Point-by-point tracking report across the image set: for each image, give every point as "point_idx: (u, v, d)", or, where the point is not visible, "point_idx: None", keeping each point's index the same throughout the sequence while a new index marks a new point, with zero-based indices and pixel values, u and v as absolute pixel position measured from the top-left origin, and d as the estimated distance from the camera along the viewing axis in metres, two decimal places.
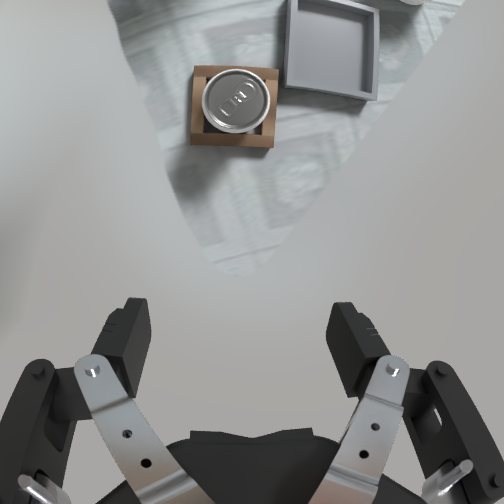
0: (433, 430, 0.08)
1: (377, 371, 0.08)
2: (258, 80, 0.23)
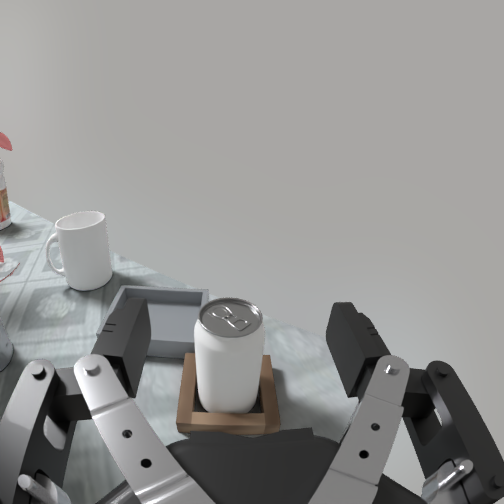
0: (433, 430, 0.08)
1: (377, 371, 0.08)
2: (209, 303, 0.27)
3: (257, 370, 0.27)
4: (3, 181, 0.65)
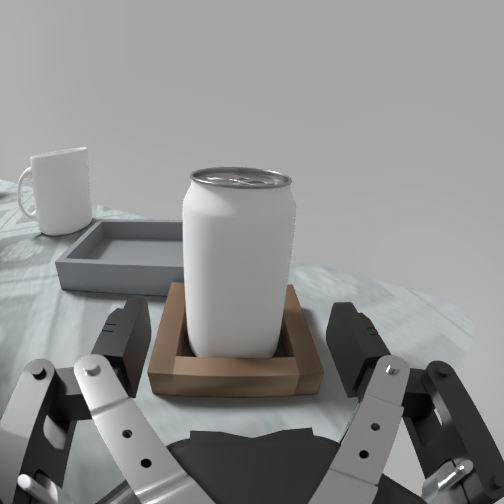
0: (433, 430, 0.08)
1: (377, 371, 0.08)
2: (208, 170, 0.18)
3: (284, 274, 0.17)
4: None
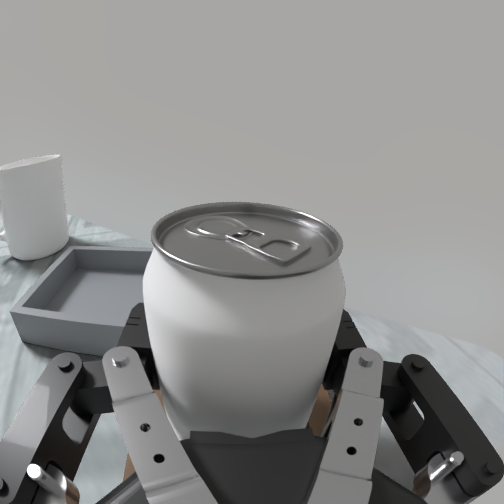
0: (414, 423, 0.08)
1: (349, 362, 0.09)
2: (189, 210, 0.10)
3: (318, 388, 0.10)
4: None
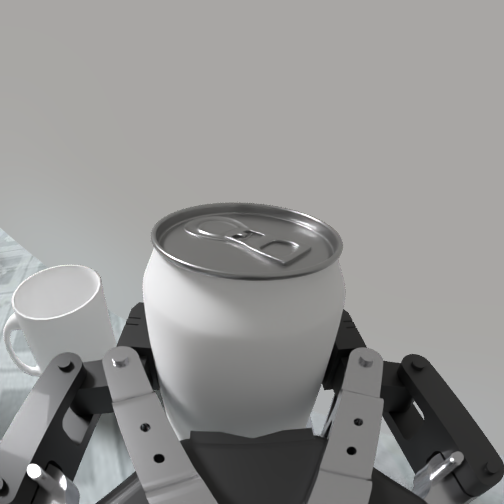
0: (414, 423, 0.08)
1: (349, 362, 0.09)
2: (189, 211, 0.10)
3: (318, 389, 0.10)
4: None
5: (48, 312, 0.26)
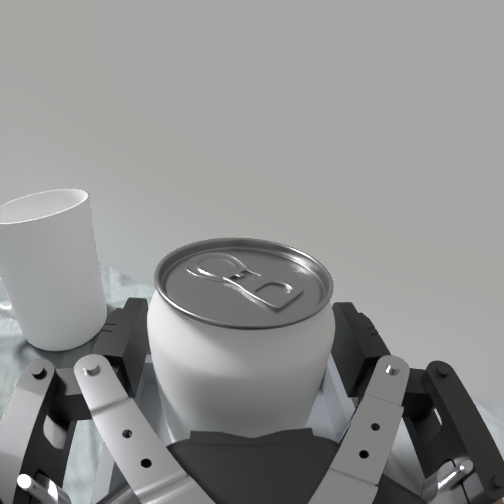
0: (433, 430, 0.08)
1: (377, 371, 0.08)
2: (190, 247, 0.11)
3: (308, 413, 0.10)
4: None
5: None
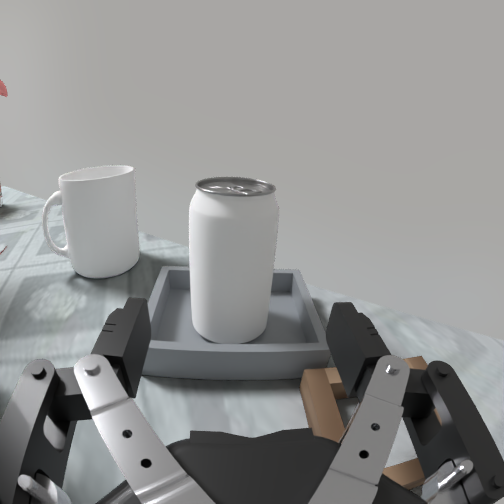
0: (433, 430, 0.08)
1: (377, 371, 0.08)
2: (210, 179, 0.22)
3: (269, 263, 0.21)
4: None
5: None
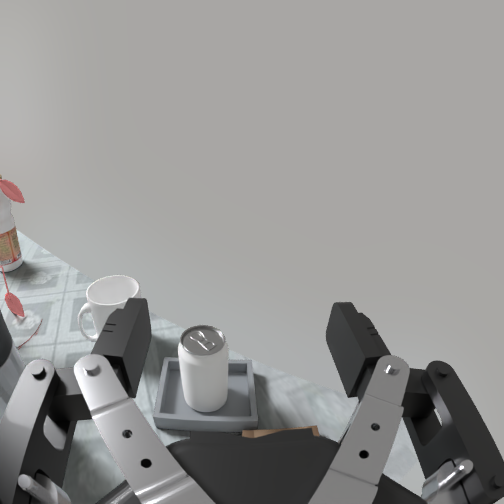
0: (433, 430, 0.08)
1: (377, 371, 0.08)
2: (189, 329, 0.37)
3: (223, 377, 0.36)
4: (12, 220, 0.65)
5: (102, 303, 0.49)
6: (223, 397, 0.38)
